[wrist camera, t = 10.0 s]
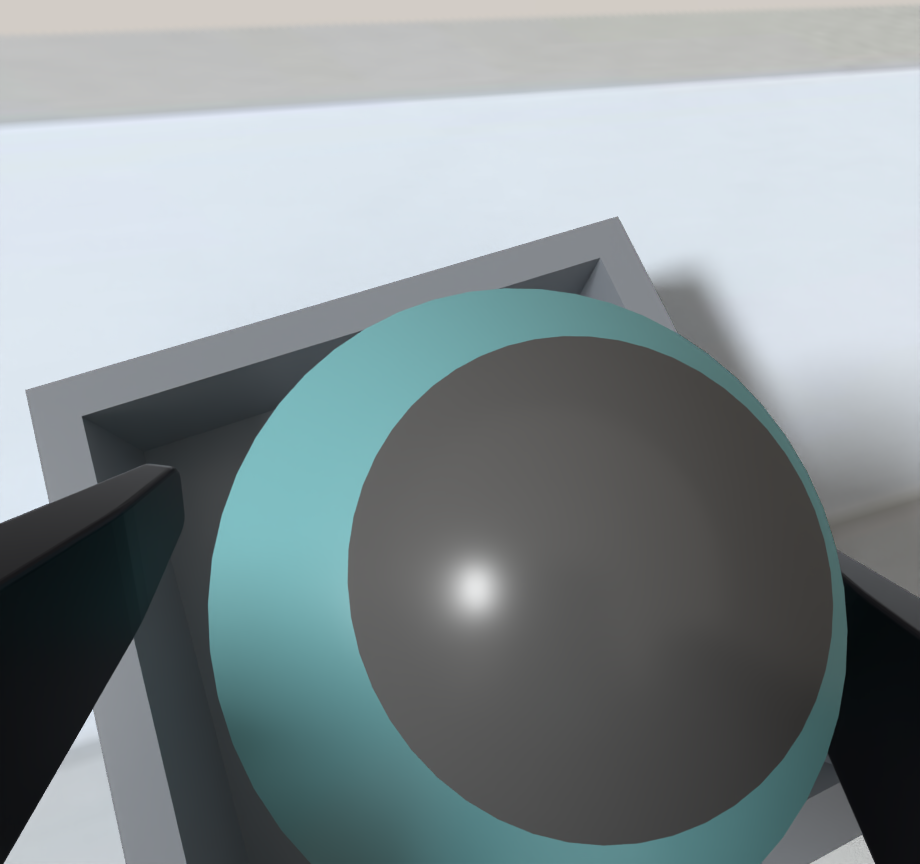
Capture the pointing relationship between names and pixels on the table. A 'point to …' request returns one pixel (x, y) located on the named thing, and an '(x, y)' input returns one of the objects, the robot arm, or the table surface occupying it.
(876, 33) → the table surface
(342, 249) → the table surface
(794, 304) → the table surface
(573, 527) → the capped bottle
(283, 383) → the tray
